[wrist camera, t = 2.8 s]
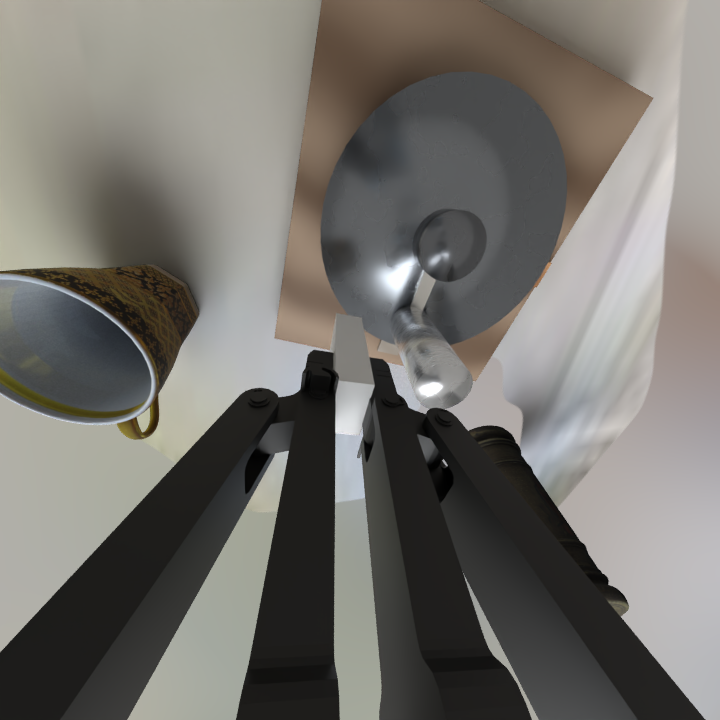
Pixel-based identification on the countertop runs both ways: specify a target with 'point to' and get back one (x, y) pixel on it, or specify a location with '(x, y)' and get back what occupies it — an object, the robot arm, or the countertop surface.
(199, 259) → the countertop surface
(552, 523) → the container
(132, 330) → the ceramic cup
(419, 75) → the stand
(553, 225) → the dial
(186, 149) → the countertop surface
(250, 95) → the countertop surface
